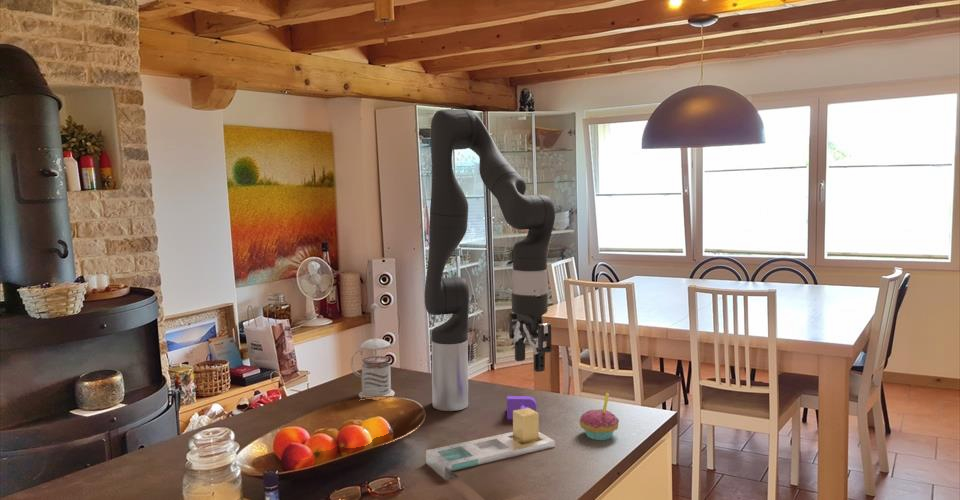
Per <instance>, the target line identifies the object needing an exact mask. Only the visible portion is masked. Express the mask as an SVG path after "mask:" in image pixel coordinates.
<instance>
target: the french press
mask: <svg viewBox="0 0 960 500" xmlns="http://www.w3.org/2000/svg"><path fill="white" fill-rule="evenodd" d="M370 308H371V309H373V314H374V317H373V318H374V322H376V309H378V308H379V305H378V304H377V303H371V305H370ZM376 333H377V332H376V328H374V338H369V339H368V340H366V341H364V342H362V343H361V344H360V349H359V348H358V350H356V351H355V352H354V353H353V354H352V356H351V359H350V367H351V368H350V369H351V370H352V372H353V374H354V375H356V376H357V377H359V378H360V380H361V381H360V383H361V391H360V392H359V393H358V397H359V398H360V399H362V397H374V396H392V397H394V395H395V393H396V392H395V391H394V390H393V389H392V383H391V381H392V379H391V376H392V375H391V374H392V373H391V363H390V362H389V361H390V358H389V357H388V356H385V355H377V351H378V350H385V349H388V348H390V347H391V343H390V342H389V341H387V340H385V339H382V338H377V334H376ZM363 349H364V350H367V351H370V350H373V351H374V355H372V356H366V357H364V358H363V359H362V365H361V373H359V372H357V370H356V369H355V367H354V357H355V356H356V354H357V353H360V356H363V354H364V353H363V352H364V351H363ZM372 366H373V367H372ZM378 366H380V367H381V368H380V367H378ZM370 367H371V368H370ZM376 375H377V376H376ZM382 377H383V378H382Z"/></svg>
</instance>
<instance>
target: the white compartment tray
mask: <svg viewBox="0 0 960 500" xmlns="http://www.w3.org/2000/svg"><path fill="white" fill-rule="evenodd" d="M551 448H556V441H555V440H554V439H553V438H550V437H549V436H547V435H546V434H544V433H542V432H540V431H539V441H537V442H532V443H528V444H524V445H521V444H519V443H518V442H516V441H515V440H513V431H510V432H505V433H502V434H497V435H492V436H487V437H486V436H485V437H481V438H479V439H473V440H468V441H463V442H459V443H455V444H454V443H453V444H450V445H449V444H448V445H446V446H441V447H436V448H432V449H431V448H429V449H426V450H425V463H426V465H428V467H430V468H431V469H432V470H433V471H434V472H436V473H437V474H438V476H440V477H441V478H442V479H443V480H450V479H454V478H457V477H458V478H459V476H458V475H457V474H456V473H455V472H454V471H457V470H462V469H467V468H471V467H476V466H479V465H484V464H487V463H491V462H495V461H499V460H504V459H509V458H513V457H517V456H520V455H525V454H530V453H533V452H538V451H539V452H540V451H542V450H547V449H551Z"/></svg>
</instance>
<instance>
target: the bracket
mask: <svg viewBox="0 0 960 500" xmlns="http://www.w3.org/2000/svg"><path fill="white" fill-rule="evenodd" d="M524 408H530V409H532V410H534V411H536V412H537V401H536V399H535V397H532V396H528V395H521V396H520V395H519V396H517V395H507V396H506V420H513V411H514V410H519V409H524Z"/></svg>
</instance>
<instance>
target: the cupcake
mask: <svg viewBox="0 0 960 500" xmlns="http://www.w3.org/2000/svg"><path fill="white" fill-rule="evenodd" d="M609 393H610V390H607V392H606V393H605V396H604V402H603V407H602V408H599V409H591V410H587V411H585V412H583V414H582V415H581V416H580V418H579V425H580V428H581V429H582V430H584V432H585V435H586V436H587V437H588V438H589V439H592V440H595V441H604V440H605V441H606V440H609V439H611V438H612V437H613V435H614V434H613V433H614V431H616V430H618V428H619V421H620V419H619V418H618V417H617V416H616V414H614V413H612V412H611V411H609V410H607V407H608V402H609V401H608V400H609V395H610V394H609Z"/></svg>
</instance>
